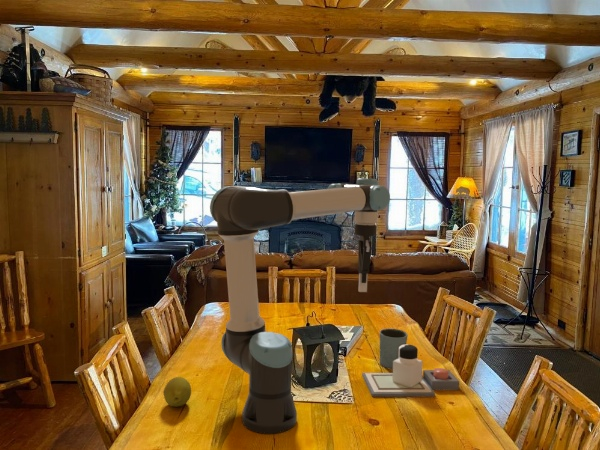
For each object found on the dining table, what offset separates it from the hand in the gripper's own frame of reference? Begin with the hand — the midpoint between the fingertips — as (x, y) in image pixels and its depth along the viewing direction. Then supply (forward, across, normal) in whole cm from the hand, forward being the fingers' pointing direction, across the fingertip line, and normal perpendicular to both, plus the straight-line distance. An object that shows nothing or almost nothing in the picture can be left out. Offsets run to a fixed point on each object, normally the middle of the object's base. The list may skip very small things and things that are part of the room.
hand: (362, 291), depth 168 cm
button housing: (+29, -10, -26) cm, 40 cm away
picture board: (+29, -12, -11) cm, 33 cm away
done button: (+28, -10, -26) cm, 39 cm away
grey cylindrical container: (+29, +6, -13) cm, 32 cm away
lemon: (+29, -26, +58) cm, 70 cm away
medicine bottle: (+27, -12, -14) cm, 33 cm away
